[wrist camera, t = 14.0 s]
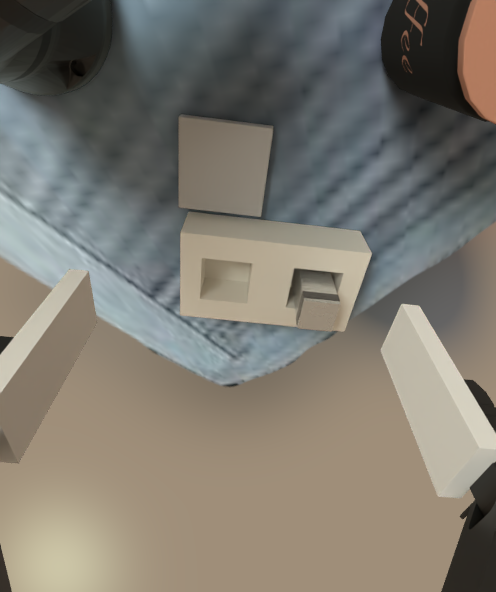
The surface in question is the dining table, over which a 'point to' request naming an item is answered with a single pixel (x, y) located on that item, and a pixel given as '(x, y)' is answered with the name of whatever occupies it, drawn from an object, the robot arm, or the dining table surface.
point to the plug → (314, 299)
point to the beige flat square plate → (223, 164)
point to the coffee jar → (444, 52)
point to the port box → (263, 267)
